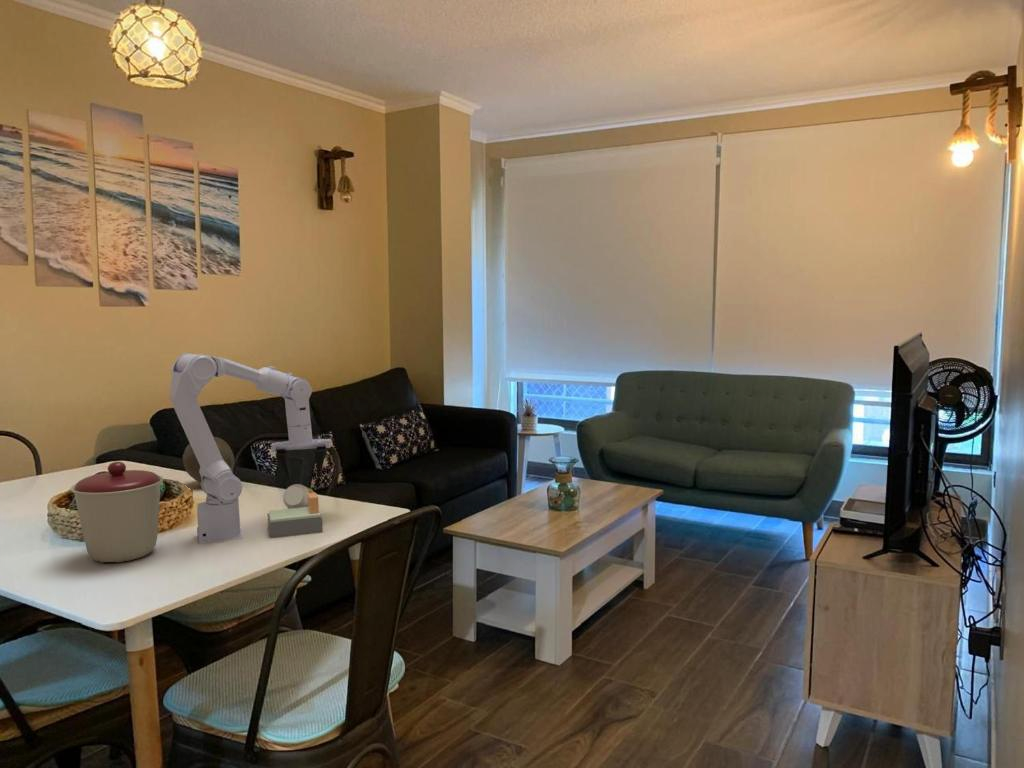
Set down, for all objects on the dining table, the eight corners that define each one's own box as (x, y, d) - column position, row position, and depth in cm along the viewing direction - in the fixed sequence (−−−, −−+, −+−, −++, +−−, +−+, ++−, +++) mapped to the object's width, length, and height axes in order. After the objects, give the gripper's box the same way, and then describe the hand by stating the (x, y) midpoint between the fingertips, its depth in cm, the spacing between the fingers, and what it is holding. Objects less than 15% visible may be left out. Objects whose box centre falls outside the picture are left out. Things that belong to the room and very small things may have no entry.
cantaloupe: (225, 477, 243) (222, 431, 241) (242, 485, 232) (239, 436, 231) (179, 485, 234) (176, 436, 232) (193, 493, 223) (190, 443, 222)
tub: (270, 540, 179) (269, 523, 178) (268, 529, 187) (267, 513, 187) (322, 533, 183) (322, 517, 183) (318, 523, 191) (317, 508, 191)
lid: (270, 522, 179) (269, 504, 178) (268, 513, 187) (267, 495, 186) (320, 516, 183) (319, 498, 182) (316, 508, 191) (315, 490, 190)
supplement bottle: (318, 511, 202) (307, 507, 189) (292, 514, 201) (280, 511, 189) (315, 485, 203) (305, 480, 191) (290, 489, 203) (278, 484, 190)
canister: (83, 548, 175) (76, 457, 172) (170, 538, 181) (164, 451, 179) (69, 574, 158) (61, 474, 156) (165, 563, 164) (158, 466, 162)
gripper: (331, 419, 197) (336, 470, 199) (273, 423, 196) (279, 474, 198) (326, 424, 190) (331, 478, 192) (266, 429, 189) (272, 482, 191)
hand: (304, 477), depth 194 cm, fingers open, 7 cm apart
